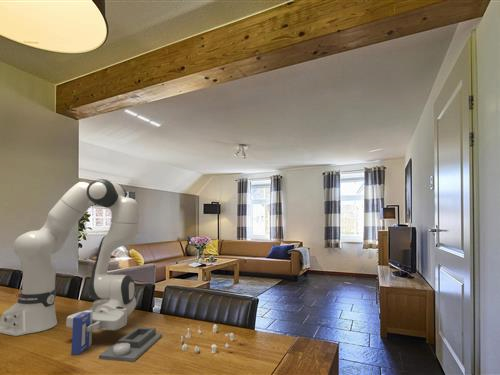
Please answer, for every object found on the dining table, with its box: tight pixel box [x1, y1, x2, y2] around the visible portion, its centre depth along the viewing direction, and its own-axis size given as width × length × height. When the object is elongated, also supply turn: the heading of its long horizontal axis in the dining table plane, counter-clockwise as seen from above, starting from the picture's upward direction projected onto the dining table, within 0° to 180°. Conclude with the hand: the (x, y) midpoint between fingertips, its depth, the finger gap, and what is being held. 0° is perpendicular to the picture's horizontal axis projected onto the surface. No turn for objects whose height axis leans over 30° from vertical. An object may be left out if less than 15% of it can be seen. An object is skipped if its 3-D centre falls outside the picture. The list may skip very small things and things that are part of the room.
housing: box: [98, 326, 163, 362], centre depth 105 cm, size 12×20×3 cm, turn 171°
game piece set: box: [180, 324, 235, 354], centre depth 110 cm, size 19×20×4 cm
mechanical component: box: [89, 299, 109, 312], centre depth 145 cm, size 10×4×10 cm
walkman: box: [70, 309, 93, 355], centre depth 104 cm, size 8×3×12 cm, turn 0°
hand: (80, 328), depth 103 cm, fingers open, 3 cm apart
